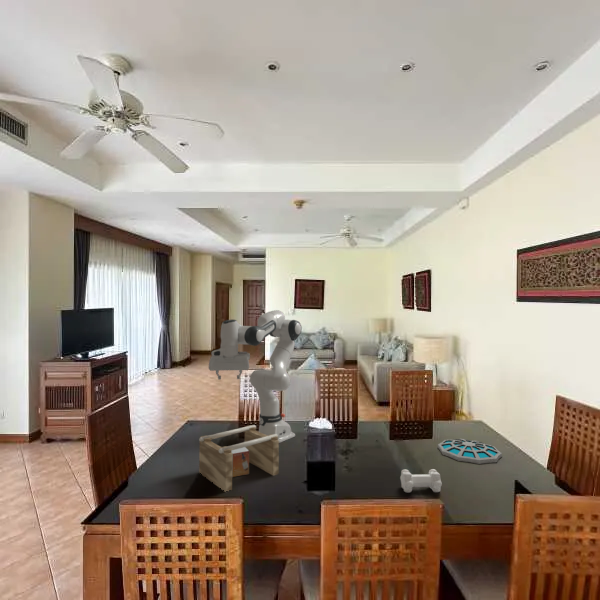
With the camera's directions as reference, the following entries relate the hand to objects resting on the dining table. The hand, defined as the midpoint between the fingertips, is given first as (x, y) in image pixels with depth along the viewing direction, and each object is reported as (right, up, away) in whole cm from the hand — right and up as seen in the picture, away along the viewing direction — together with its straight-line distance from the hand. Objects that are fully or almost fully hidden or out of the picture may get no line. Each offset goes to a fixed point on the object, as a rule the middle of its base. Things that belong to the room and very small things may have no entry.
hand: (228, 379), depth 194 cm
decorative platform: (+124, -40, +6) cm, 130 cm away
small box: (+8, -39, -20) cm, 45 cm away
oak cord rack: (+8, -39, -20) cm, 44 cm away
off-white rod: (+14, -23, -27) cm, 38 cm away
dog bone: (+86, -39, -36) cm, 101 cm away
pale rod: (+2, -24, -13) cm, 27 cm away
